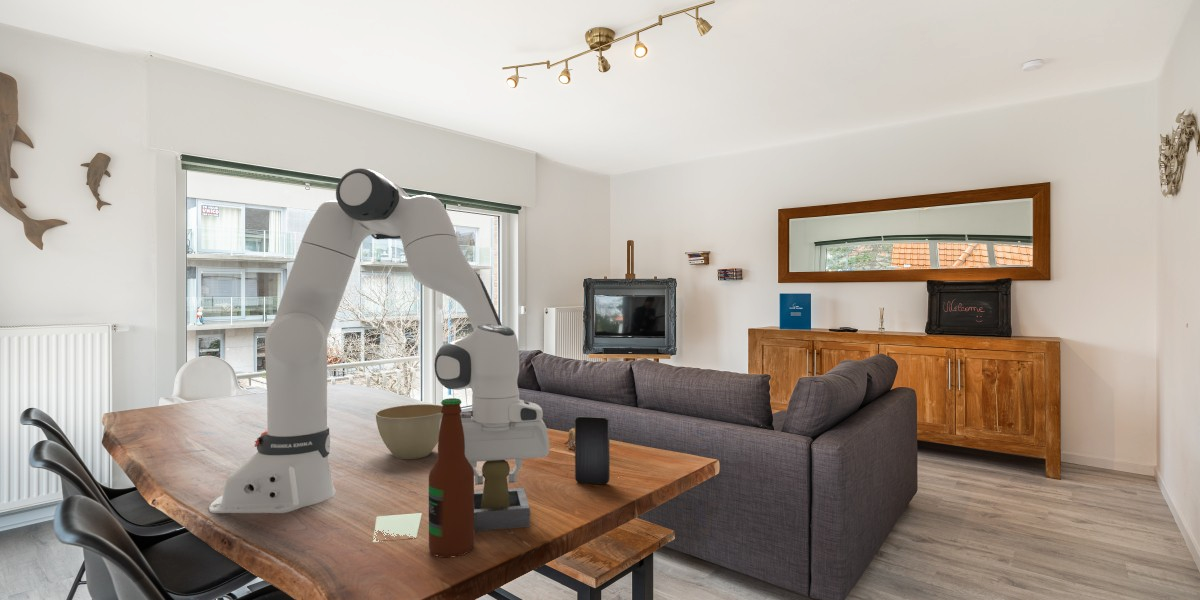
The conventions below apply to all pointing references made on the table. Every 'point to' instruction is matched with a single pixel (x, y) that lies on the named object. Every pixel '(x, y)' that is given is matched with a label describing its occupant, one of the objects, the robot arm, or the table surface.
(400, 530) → the mat
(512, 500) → the grey square tray
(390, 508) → the table surface
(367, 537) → the table surface
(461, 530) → the bottle
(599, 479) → the phone
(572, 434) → the lion figurine
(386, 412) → the cream bowl
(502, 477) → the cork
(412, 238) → the robot arm
